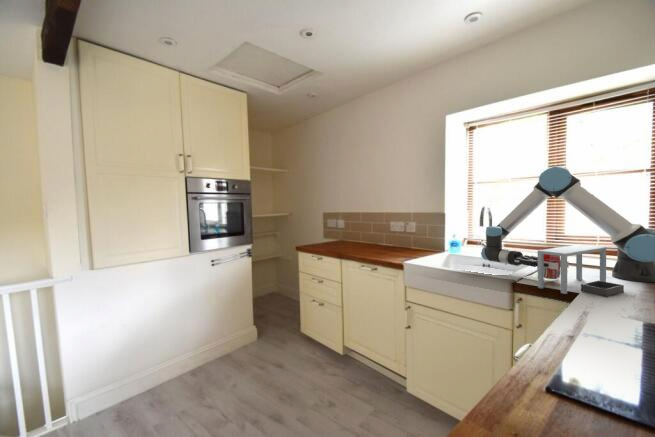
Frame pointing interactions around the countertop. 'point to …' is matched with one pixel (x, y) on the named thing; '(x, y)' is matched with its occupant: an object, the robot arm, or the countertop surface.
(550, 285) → the countertop surface
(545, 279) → the mat
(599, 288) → the tray
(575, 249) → the bridge
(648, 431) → the countertop surface
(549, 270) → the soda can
